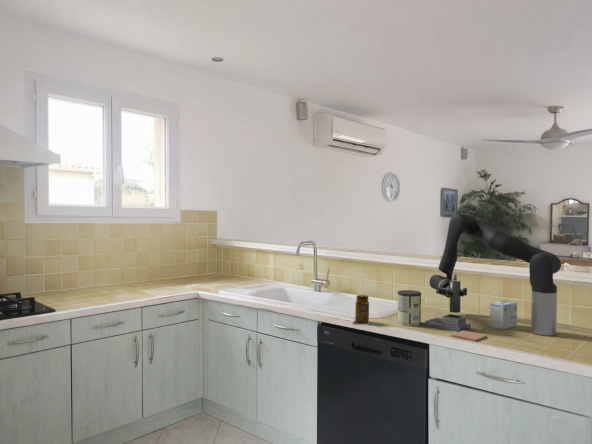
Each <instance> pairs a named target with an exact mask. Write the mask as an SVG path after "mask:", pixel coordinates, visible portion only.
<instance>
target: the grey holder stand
mask: <svg viewBox="0 0 592 444" xmlns="http://www.w3.org/2000/svg"><path fill="white" fill-rule="evenodd" d="M471 324H472V323H470V322H467V316H464V315H459V314H455V313H454V314H453V313H450V314H449V313H448V314H446V315H443V316H441V317H434V318H429V319H427V320H424V325H425V326H428V327H433V328H437V329H442V330H447V331H451V332H455V333H457V332H460V331H463V330H464V331H468V330H470V329H472V325H471Z"/></svg>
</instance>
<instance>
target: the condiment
mask: <svg viewBox="0 0 592 444" xmlns="http://www.w3.org/2000/svg"><path fill="white" fill-rule="evenodd" d="M354 317H355V318H354V320H353V322H352V324H353V325H362V326H369V325H370V323H371V320H370V302H369V296H368V295H365V294H358V295H356V301H355V316H354Z"/></svg>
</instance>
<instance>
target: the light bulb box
mask: <svg viewBox="0 0 592 444" xmlns="http://www.w3.org/2000/svg"><path fill="white" fill-rule="evenodd" d="M517 321H518V302H517V301H511V300H510V301H509V300H505V299H504V300H499V301H493V302H489V327H491V328H493V329H494V328H495V329H499V330H502V331H503V330H506V329H512V328H515V327H517V326H518V323H517Z"/></svg>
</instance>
